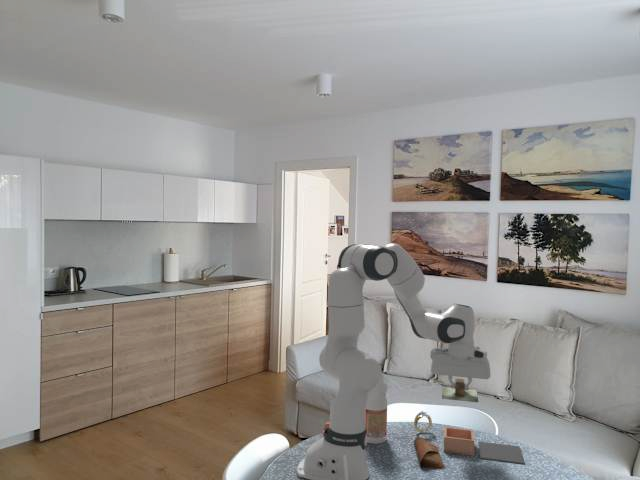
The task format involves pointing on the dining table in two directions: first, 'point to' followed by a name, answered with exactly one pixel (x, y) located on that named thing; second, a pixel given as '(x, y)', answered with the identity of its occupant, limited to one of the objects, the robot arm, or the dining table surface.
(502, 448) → the mat
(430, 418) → the ring
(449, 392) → the lid
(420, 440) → the sunglasses case
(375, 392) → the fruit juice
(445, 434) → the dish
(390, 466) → the dining table surface
